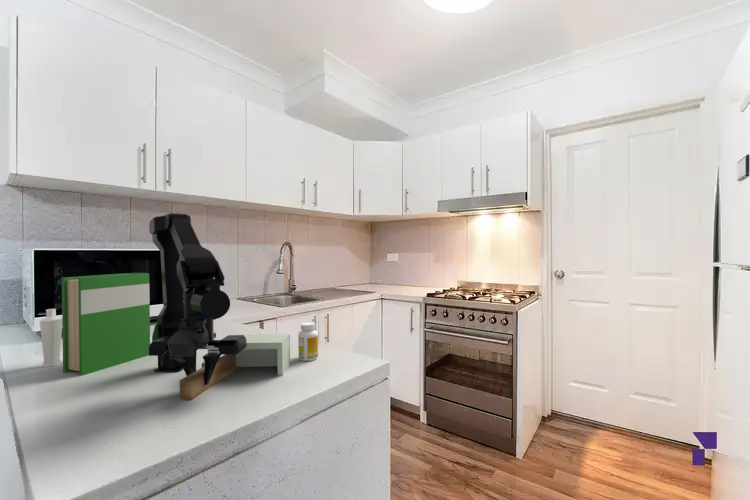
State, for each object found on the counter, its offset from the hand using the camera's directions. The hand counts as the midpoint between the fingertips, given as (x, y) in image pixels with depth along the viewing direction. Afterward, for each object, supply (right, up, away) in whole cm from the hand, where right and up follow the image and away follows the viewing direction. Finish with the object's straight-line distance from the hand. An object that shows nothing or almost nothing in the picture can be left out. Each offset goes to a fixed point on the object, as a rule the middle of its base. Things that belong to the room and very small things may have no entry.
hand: (199, 384), depth 75 cm
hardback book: (-34, -2, +19) cm, 40 cm away
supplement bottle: (+20, -1, +21) cm, 29 cm away
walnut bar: (0, -1, +4) cm, 4 cm away
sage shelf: (+8, -1, +12) cm, 14 cm away
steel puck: (-3, -2, +12) cm, 12 cm away
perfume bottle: (-49, -2, +18) cm, 53 cm away
